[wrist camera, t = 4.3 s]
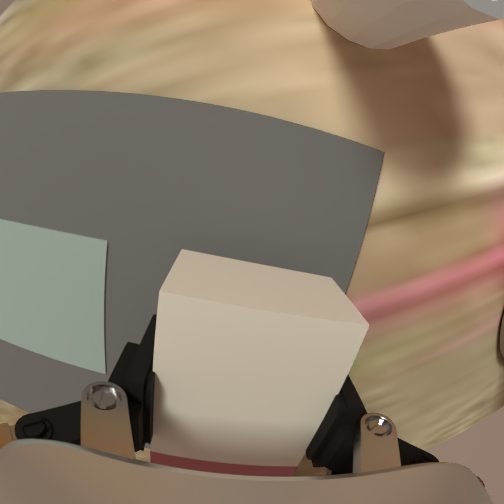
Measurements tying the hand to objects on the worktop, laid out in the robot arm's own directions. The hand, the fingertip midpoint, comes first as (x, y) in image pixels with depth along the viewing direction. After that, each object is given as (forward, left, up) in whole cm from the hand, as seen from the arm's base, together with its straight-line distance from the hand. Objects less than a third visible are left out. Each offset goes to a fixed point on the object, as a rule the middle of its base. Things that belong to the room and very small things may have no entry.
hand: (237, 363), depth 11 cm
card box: (0, 0, 0) cm, 0 cm away
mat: (+6, 0, -2) cm, 7 cm away
